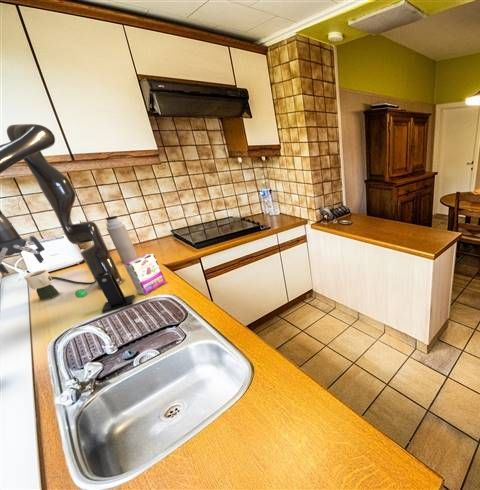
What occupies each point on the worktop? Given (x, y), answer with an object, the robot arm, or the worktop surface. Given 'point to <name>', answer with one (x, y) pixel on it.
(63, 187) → the robot arm
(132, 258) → the thermos bottle
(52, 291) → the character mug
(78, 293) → the switch lever
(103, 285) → the switch bracket
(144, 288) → the candy bar box
